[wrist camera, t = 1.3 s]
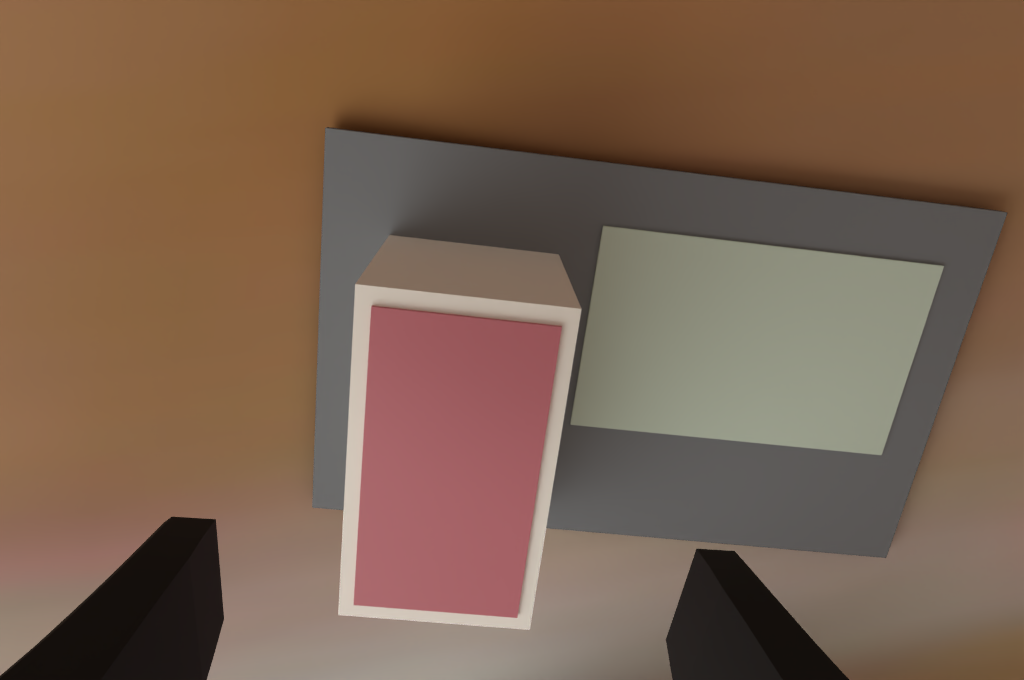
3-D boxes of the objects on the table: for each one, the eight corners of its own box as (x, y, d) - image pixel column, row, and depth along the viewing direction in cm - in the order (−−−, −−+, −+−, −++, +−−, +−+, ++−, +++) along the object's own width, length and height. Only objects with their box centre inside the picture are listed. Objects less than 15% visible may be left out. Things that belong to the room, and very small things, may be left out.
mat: (881, 552, 23) (887, 559, 22) (315, 502, 22) (311, 509, 21) (1000, 210, 19) (1010, 213, 19) (327, 127, 18) (324, 128, 18)
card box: (520, 511, 22) (529, 632, 17) (372, 498, 21) (337, 618, 16) (558, 254, 19) (581, 310, 14) (389, 234, 19) (354, 285, 14)
